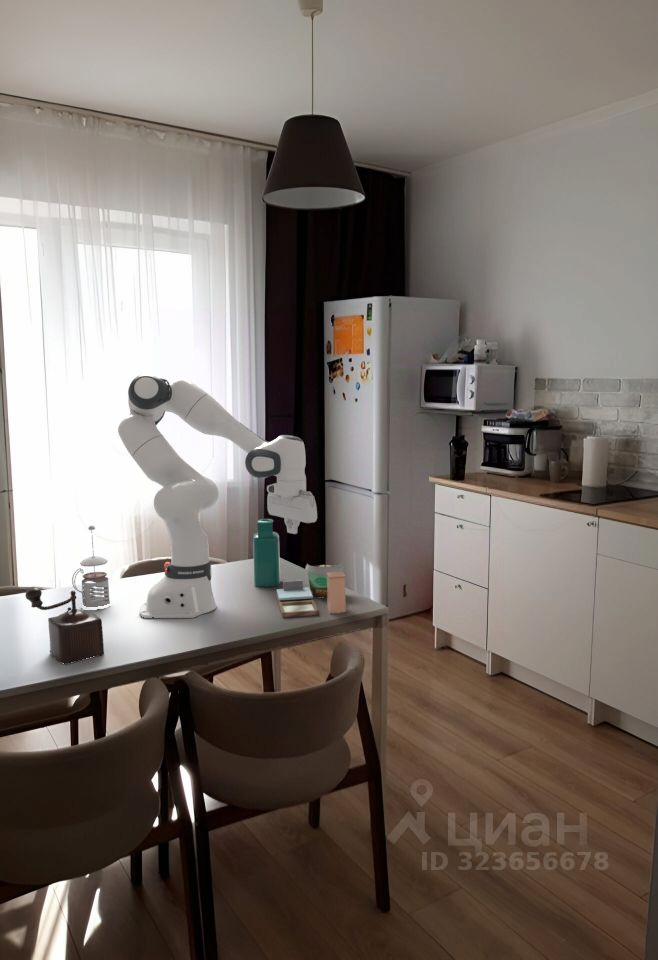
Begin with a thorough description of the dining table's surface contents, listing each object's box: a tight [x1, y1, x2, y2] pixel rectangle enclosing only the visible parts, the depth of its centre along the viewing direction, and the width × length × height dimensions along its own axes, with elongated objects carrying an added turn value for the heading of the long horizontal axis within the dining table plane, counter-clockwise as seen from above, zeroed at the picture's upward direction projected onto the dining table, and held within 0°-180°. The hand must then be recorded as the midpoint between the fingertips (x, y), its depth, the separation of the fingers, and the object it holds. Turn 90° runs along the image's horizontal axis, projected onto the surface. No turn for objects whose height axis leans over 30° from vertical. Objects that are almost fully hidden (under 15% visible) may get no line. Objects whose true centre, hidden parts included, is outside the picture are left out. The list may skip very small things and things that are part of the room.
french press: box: [71, 525, 111, 607], centre depth 223 cm, size 10×12×25 cm
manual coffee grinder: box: [24, 587, 105, 665], centre depth 183 cm, size 16×11×18 cm
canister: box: [326, 571, 347, 614], centre depth 215 cm, size 5×5×11 cm
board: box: [275, 591, 319, 619], centre depth 221 cm, size 10×21×1 cm, turn 9°
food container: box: [304, 562, 345, 599], centre depth 230 cm, size 12×6×10 cm, turn 92°
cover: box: [276, 579, 314, 600], centre depth 227 cm, size 10×10×4 cm
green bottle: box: [252, 518, 281, 588], centre depth 244 cm, size 10×8×22 cm
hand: (292, 533), depth 226 cm, fingers closed
